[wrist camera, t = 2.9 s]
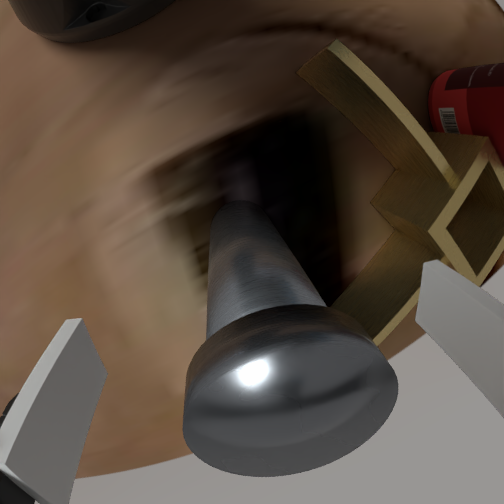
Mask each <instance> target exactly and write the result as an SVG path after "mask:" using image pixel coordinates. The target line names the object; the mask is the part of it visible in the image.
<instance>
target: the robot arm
mask: <svg viewBox="0 0 504 504" xmlns="http://www.w3.org/2000/svg"><path fill="white" fill-rule="evenodd" d="M8 1H9V3H10V5H11V6H12V8H13V10H14V12H15V14H16V15H17V17H18V19H19V20H20V21H21V23H22V24H23V25H25V26H26V27H27V28H28V29H30V30H31V31H33V32H35V33H37V34H39V35H41V36H43V37H45V38H47V39H50V40H53V41H57V42H65V43H76V42H85V41H91V40H96V39H100V38H103V37H107V36H110V35H113V34H116V33H118V32H121V31H123V30H126V29H128V28H130V27H132V26H135V25H137V24H139V23H141V22H143V21H144V20H146V19H148V18H150V17H152V16H153V15H155V14H156V13H158V12H160V11H161V10H163V9H164V8H166V7H167V6H168V5H170V4H171V3H172V2H174V1H175V0H8ZM415 321H416V322H417V323H418V324H419V325H420V326H421V327H422V328H423V330H424V331H425V332H426V333H427V334H429V336H430V337H431V338H432V339H433V340H434V341H435V342H436V343H437V344H438V345H439V346H440V347H441V348H442V349H443V350H444V351H445V352H446V353H447V354H448V355H449V357H450V358H451V359H452V360H453V361H454V362H455V363H456V364H457V365H458V366H459V367H460V368H461V370H462V371H463V372H464V373H465V374H466V375H467V376H468V377H469V378H470V380H471V381H472V382H473V383H474V384H475V385H476V386H477V387H478V389H479V390H480V391H481V392H482V393H483V394H484V395H485V397H486V398H487V399H488V400H489V401H490V402H491V404H492V405H493V406H494V407H495V408H496V410H497V411H498V412H499V413H500V414H501V416H502V417H503V418H504V304H502V303H501V302H499V301H498V300H497V299H495V298H494V297H493V296H491V295H490V294H488V293H487V292H485V291H484V290H483V289H481V288H480V287H478V286H477V285H475V284H474V283H472V282H471V281H469V280H468V279H466V278H465V277H463V276H462V275H460V274H459V273H457V272H456V271H454V270H453V269H451V268H450V267H448V266H446V265H445V264H443V263H442V262H440V261H439V260H433V261H429V262H425V263H423V271H422V279H421V287H420V294H419V300H418V306H417V312H416V318H415ZM107 375H108V373H107V371H106V369H105V367H104V365H103V363H102V361H101V359H100V357H99V355H98V353H97V351H96V349H95V346H94V344H93V342H92V340H91V338H90V335H89V333H88V331H87V328H86V326H85V324H84V321H83V319H82V318H78V319H67V320H66V321H65V322H64V324H63V325H62V326H61V328H60V329H59V331H58V332H57V334H56V335H55V337H54V338H53V340H52V341H51V343H50V344H49V346H48V347H47V349H46V350H45V352H44V353H43V355H42V356H41V358H40V359H39V361H38V363H37V364H36V366H35V367H34V369H33V371H32V372H31V374H30V376H29V377H28V379H27V381H26V382H25V384H24V386H23V387H22V389H21V391H20V393H18V394H17V395H16V396H15V397H14V398H13V399H12V400H11V401H10V402H9V403H8V405H7V406H6V408H5V410H4V412H3V416H1V417H0V504H34V502H35V500H36V501H37V502H38V503H40V504H69V500H70V496H71V492H72V488H73V483H74V480H75V476H76V472H77V468H78V465H79V461H80V457H81V454H82V450H83V447H84V444H85V440H86V437H87V434H88V430H89V427H90V424H91V421H92V418H93V415H94V412H95V409H96V406H97V403H98V400H99V397H100V394H101V392H102V389H103V386H104V383H105V380H106V378H107Z"/></svg>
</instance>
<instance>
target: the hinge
mask: <svg viewBox="0 0 504 504" xmlns="http://www.w3.org/2000/svg"><path fill="white" fill-rule="evenodd" d="M296 74H298V75H299V76H300V77H301V78H302V79H304V80H305V81H306V82H307V83H308V84H310V85H311V86H312V87H313V88H314V89H316V90H317V91H318V92H319V93H320V94H321V95H322V96H324V97H325V98H326V99H327V100H328V101H329V102H330V103H331V104H332V105H334V106H335V107H336V108H337V109H338V110H339V111H340V112H341V113H342V114H343V115H344V116H345V117H346V118H347V119H348V120H350V121H351V122H352V123H353V124H354V125H355V126H356V127H357V128H358V129H359V130H360V131H361V132H362V133H363V134H364V135H365V136H366V137H367V138H368V140H369V141H370V142H371V143H372V144H373V145H374V146H375V147H376V148H377V149H378V150H379V151H380V152H381V153H382V154H383V155H384V157H385V158H386V159H387V160H388V161H389V162H390V163H391V164H392V165H393V167H394V168H395V169H396V170H395V171H394V172H393V174H392V175H391V176H390V178H389V179H388V180H387V181H386V183H385V184H384V185H383V187H382V188H381V189H380V191H379V192H378V193H377V194H376V196H375V197H374V198H373V200H372V201H371V202H370V203H371V204H372V205H373V206H374V207H375V208H376V209H377V210H378V211H379V213H380V214H381V215H382V216H383V217H384V218H385V219H386V220H387V221H388V222H389V223H390V224H391V225H392V226H393V227H394V228H395V231H394V232H393V233H392V235H391V236H390V237H389V239H388V240H387V241H386V242H385V244H384V245H383V246H382V247H381V249H380V250H379V251H378V252H377V253H376V255H375V256H374V257H373V258H372V260H371V261H370V262H369V263H368V264H367V266H366V267H365V268H364V269H363V270H362V271H361V273H360V274H359V275H358V276H357V277H356V278H355V280H354V281H353V282H352V283H351V284H350V285H349V286H348V288H347V289H346V290H345V291H344V292H343V293H342V294H341V296H340V297H339V298H338V299H337V300H336V301H335V302H334V303H333V304H332V306H331V307H330V308H333V309H336V310H338V311H341V312H344V313H345V314H347V315H349V316H351V317H352V318H354V319H355V320H356V321H357V322H358V323H360V324H361V325H362V327H363V328H364V329H365V331H366V332H367V333H368V335H369V336H370V337H371V339H372V340H373V341H374V343H375V344H376V346H378V345H379V344H380V343H381V342H382V341H383V340H384V339H385V338H386V337H387V336H388V335H389V334H390V333H391V332H392V331H393V329H394V328H395V327H396V326H397V325H398V324H399V323H400V322H401V321H402V320H403V318H404V317H405V316H406V315H407V314H408V313H409V312H410V310H411V309H412V308H413V307H414V306H415V305H416V303H417V302H418V300H419V294H420V287H421V279H422V271H423V263H425V262H429V261H433V260H439V261H440V262H442V263H443V264H445V265H446V266H448V267H450V268H451V269H453V270H454V271H456V272H457V273H459V274H460V275H462V276H463V277H465V278H466V279H468V280H469V281H471V282H472V283H474V284H475V285H477V286H478V287H479V286H480V285H481V283H482V282H483V281H484V279H485V278H486V276H487V275H488V273H489V272H490V270H491V269H492V267H493V266H494V264H495V263H496V261H497V260H498V258H499V256H500V255H501V253H502V252H503V250H504V167H503V165H502V163H501V161H500V159H499V157H498V155H497V153H496V151H495V149H494V147H493V145H492V143H491V141H490V139H489V138H488V137H484V136H475V135H466V134H454V133H441V132H425V131H424V130H423V128H422V127H421V126H420V124H419V123H418V122H417V121H416V120H415V118H414V117H413V116H412V115H411V113H410V112H409V111H408V110H407V109H406V108H405V106H404V105H403V104H402V103H401V102H400V101H399V99H398V98H397V97H396V96H395V95H394V94H393V93H392V92H391V91H390V90H389V88H388V87H387V86H386V85H385V84H384V83H383V82H382V81H381V80H380V79H379V78H378V77H377V76H376V75H375V74H374V73H373V72H372V71H371V70H370V69H369V68H368V67H367V66H366V65H365V64H364V63H363V62H362V61H361V60H360V59H359V58H358V57H357V56H356V55H354V54H353V53H352V52H351V51H350V50H349V49H348V48H347V47H346V46H345V45H343V44H342V43H341V42H340V41H339V40H338V39H336V40H334V41H333V42H332V43H330V44H329V45H328V46H326V47H325V48H324V49H322V50H321V51H320V52H319V53H317V54H316V55H315V56H314V57H312V58H311V59H310V60H309V61H307V62H306V63H305V64H304V65H303V66H302V67H301V68H300V69H299V70H298V71H297V72H296Z"/></svg>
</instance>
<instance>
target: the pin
mask: <svg viewBox="0 0 504 504" xmlns="http://www.w3.org/2000/svg"><path fill="white" fill-rule="evenodd" d="M397 395H398V380H397V376H396V374H395V372H394V370H393V368H392V367H391V366H390V364H389V363H388V361H387V360H386V358H385V357H384V356H383V354H382V353H381V351H380V350H379V348H378V347H377V346H376V344H375V343H374V341H373V340H372V339H371V337H370V336H369V335H368V333H367V332H366V331H365V329H364V328H363V327H362V325H361V324H360V323H358V322H357V321H356V320H355V319H354V318H352V317H351V316H349V315H347V314H345V313H344V312H341V311H338V310H336V309H333V308H329V307H327V306H326V304H325V303H324V301H323V300H322V298H321V296H320V295H319V293H318V292H317V290H316V289H315V287H314V286H313V284H312V282H311V281H310V279H309V278H308V276H307V275H306V273H305V272H304V270H303V269H302V267H301V266H300V264H299V263H298V261H297V259H296V258H295V256H294V255H293V253H292V252H291V250H290V249H289V247H288V246H287V244H286V243H285V241H284V240H283V238H282V237H281V235H280V234H279V232H278V231H277V229H276V228H275V226H274V225H273V223H272V222H271V220H270V219H269V217H268V216H267V215H266V213H265V212H264V210H263V209H262V208H261V207H259V206H258V205H256V204H255V203H252V202H249V201H244V200H238V201H233V202H230V203H228V204H226V205H224V206H223V207H221V208H220V209H219V210H218V211H217V212H216V214H215V216H214V218H213V220H212V223H211V232H210V251H209V272H208V298H207V333H206V341H205V342H204V343H203V344H202V345H201V347H200V348H199V349H198V351H197V352H196V353H195V355H194V357H193V359H192V361H191V362H190V365H189V368H188V371H187V376H186V386H185V400H184V415H183V435H184V439H185V441H186V444H187V446H188V447H189V448H190V450H191V451H192V452H193V453H194V454H195V455H196V456H197V457H198V458H199V459H201V460H202V461H204V462H205V463H207V464H208V465H210V466H212V467H215V468H217V469H219V470H222V471H225V472H229V473H233V474H238V475H243V476H253V477H275V476H284V475H291V474H296V473H301V472H305V471H309V470H312V469H315V468H318V467H321V466H324V465H326V464H329V463H331V462H333V461H335V460H337V459H339V458H341V457H343V456H345V455H347V454H348V453H350V452H352V451H353V450H355V449H356V448H358V447H359V446H361V445H362V444H363V443H365V442H366V441H367V440H368V439H369V438H370V437H372V436H373V435H374V434H375V433H376V432H377V431H378V430H379V429H380V427H381V426H382V425H383V424H384V422H385V421H386V420H387V418H388V417H389V415H390V413H391V412H392V410H393V407H394V405H395V402H396V400H397Z"/></svg>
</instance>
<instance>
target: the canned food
mask: <svg viewBox="0 0 504 504" xmlns="http://www.w3.org/2000/svg"><path fill="white" fill-rule="evenodd" d="M428 110H429V116H430V120H431V123H432V127H433V129H434V131H435V132H441V133H454V134H466V135H475V136H484V137H488V138H489V139H490V141H491V143H492V145H493V147H494V149H495V151H496V153H497V155H498V157H499V159H500V161H501V163H502V165H503V167H504V63H499V64H489V65H481V66H474V67H467V68H461V69H455V70H449V71H446V72H444V73H442V74H441V75H439V76H438V77H437V78H436V79H435V80H434V81H433V83H432V85H431V87H430V91H429V97H428Z"/></svg>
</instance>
